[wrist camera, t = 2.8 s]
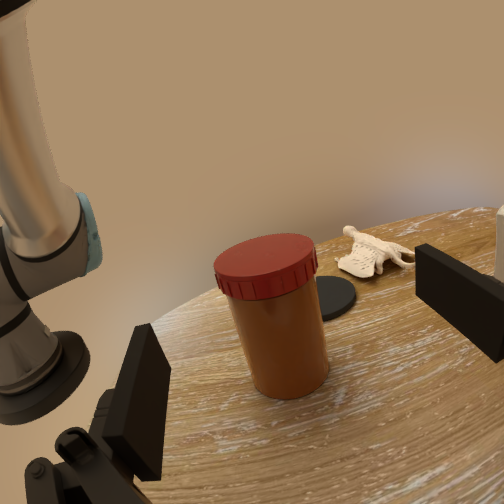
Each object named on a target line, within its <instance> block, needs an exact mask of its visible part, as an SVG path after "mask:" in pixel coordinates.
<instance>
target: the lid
mask: <svg viewBox="0 0 504 504" xmlns="http://www.w3.org/2000/svg"><path fill="white" fill-rule="evenodd" d="M317 268H318V261H317V255H316V250H315V247H314V243H313V241H312V240H311V239H310V238H309V237H307V236H304V235H300V234H290V233H286V234H285V233H284V234H272V235H266V236H261V237H257V238H254V239H250V240H248V241H244V242H242V243H239V244H237V245H235V246H233V247H231V248H229V249H227V250H226V251H224V252H223V253H221V254H220V255H219V256H218V257H217V258H216V260H215V262H214V270H215V273H216V274H215V277H216V280H217V284H218V287H219V289H221V291H222V292H223V294H225V295H227V296H229V297H232V298H235V299H241V300H258V299H266V298H271V297H275V296H279V295H282V294H285V293H288V292H290V291H293V290H295V289H297V288H299V287H301V286H302V285H304V284H305V283H307V282H308V281H309V280H310V279H311V278H312V277H313V276H314V275H315V274H316V271H317Z"/></svg>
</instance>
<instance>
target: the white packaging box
mask: <svg viewBox="0 0 504 504" xmlns="http://www.w3.org/2000/svg"><path fill="white" fill-rule="evenodd" d="M494 277H495V278H496V279H498V280H500V281H501V283H502V282H503V283H504V204H503V206H502V207H501V208H500V209H499V211H498V212H497V213H496V253H495V267H494Z"/></svg>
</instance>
